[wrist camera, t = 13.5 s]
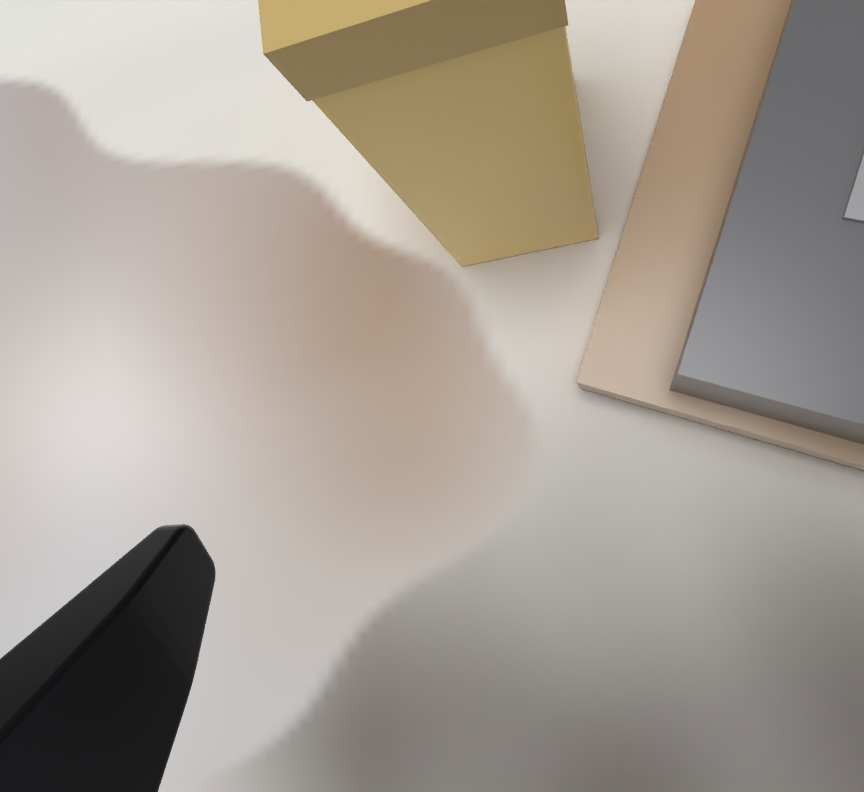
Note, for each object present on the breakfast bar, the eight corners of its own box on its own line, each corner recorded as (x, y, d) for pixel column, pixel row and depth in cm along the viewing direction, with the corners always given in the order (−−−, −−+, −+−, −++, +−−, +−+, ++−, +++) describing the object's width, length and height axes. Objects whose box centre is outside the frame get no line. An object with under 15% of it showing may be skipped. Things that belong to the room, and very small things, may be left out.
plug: (601, 240, 17) (558, -41, 8) (460, 268, 18) (263, 53, 9) (575, 75, 18) (504, -381, 8) (440, 112, 19) (234, -256, 9)
